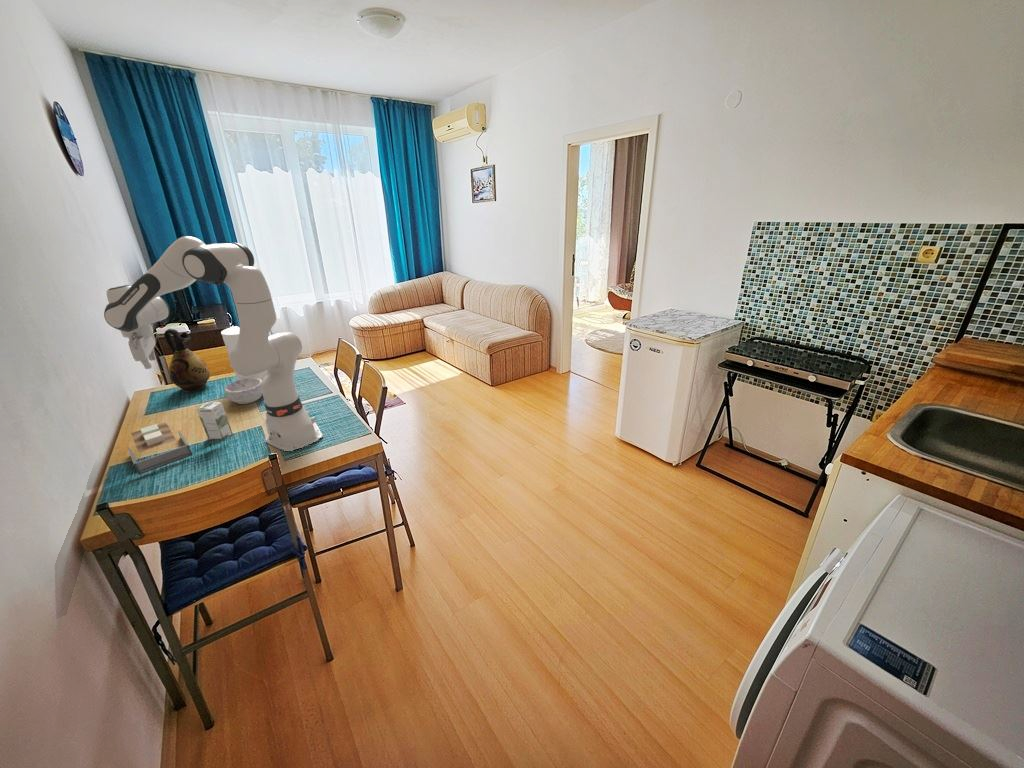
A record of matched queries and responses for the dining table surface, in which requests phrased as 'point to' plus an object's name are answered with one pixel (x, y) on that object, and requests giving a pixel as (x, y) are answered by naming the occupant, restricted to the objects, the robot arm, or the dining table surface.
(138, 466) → the grey bin
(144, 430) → the sage tile
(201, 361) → the ceramic jug
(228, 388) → the white purple floral bowl
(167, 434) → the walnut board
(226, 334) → the cylinder
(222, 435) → the syrup box
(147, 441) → the cream tile
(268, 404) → the robot arm
